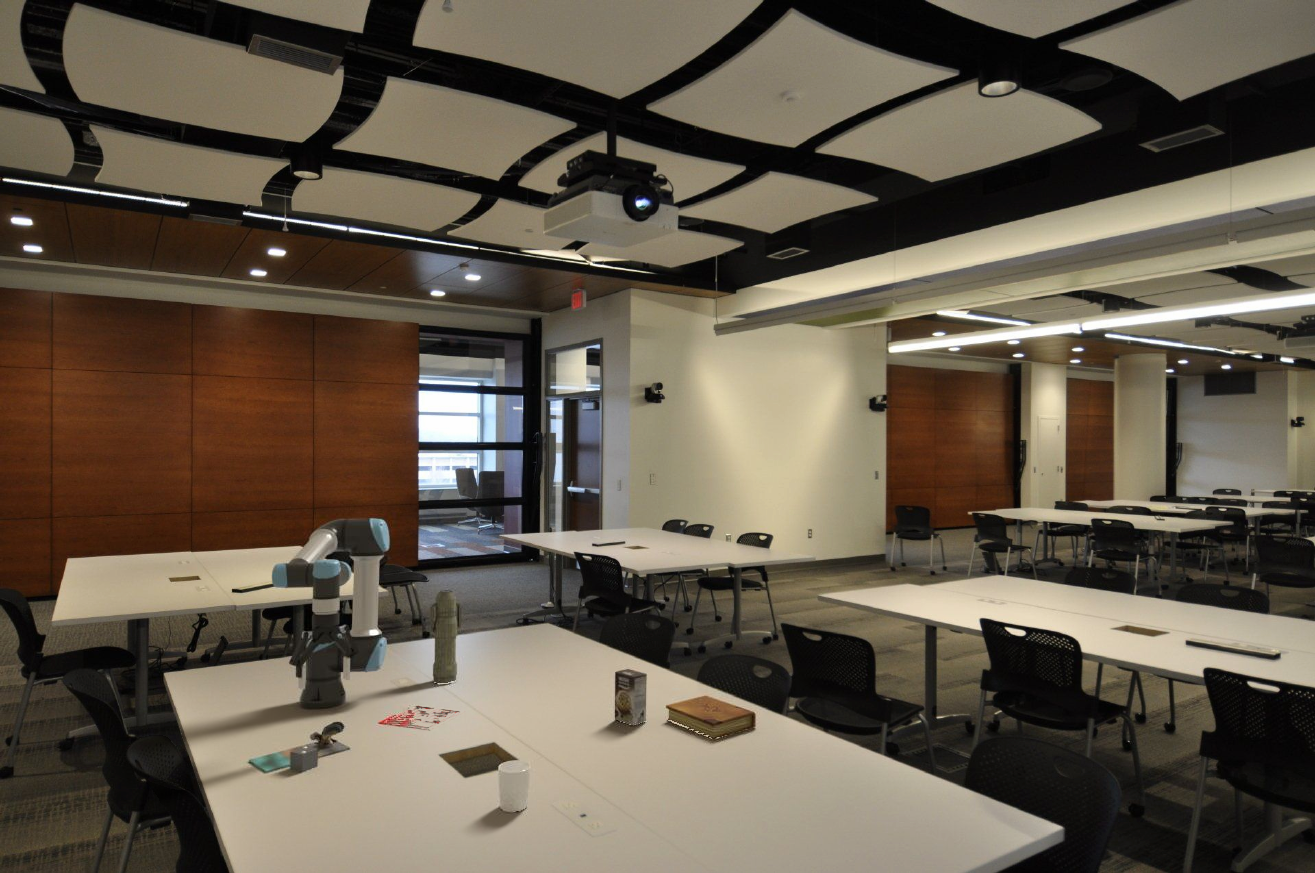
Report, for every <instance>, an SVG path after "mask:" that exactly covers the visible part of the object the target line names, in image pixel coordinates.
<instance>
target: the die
mask: <svg viewBox="0 0 1315 873" xmlns="http://www.w3.org/2000/svg"><path fill="white" fill-rule="evenodd" d="M318 763H319V758H318V749H317V748H313V747H309V746H304V747H301V748H298V749H296V750H293V751H291V752H290V766H289V769H291V771H294V770H295V771H294V772H298V773H302V772H303V773H305V772H308V771H310V770H312V768H313V769H315V768H317V766H318ZM307 770H308V771H307Z"/></svg>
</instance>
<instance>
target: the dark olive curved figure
mask: <svg viewBox="0 0 1315 873" xmlns="http://www.w3.org/2000/svg"><path fill="white" fill-rule="evenodd" d="M344 729H345V724H344V723H343V722H341V721H333V722H332V723H330V724H328V725H326V726H324V728H323V729H322V732H321V733H319V732H318V731H315V732H313V733H310V735H309V739H310V740H311V741H315V742H318V743H314V742H313V743H314V744H318V751H319V750H320V748H322V745H323V743H327V744H330V745H332V746H333V747H334V745H333V742H332V741H331V740H335V741H338V742H339V740H338V739H334V738H333V737H332V736H336V735H338V734H340V733H342V732H343V731H344Z"/></svg>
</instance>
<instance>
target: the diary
mask: <svg viewBox="0 0 1315 873" xmlns="http://www.w3.org/2000/svg"><path fill="white" fill-rule="evenodd" d="M665 709H668V719H669V720H672V721H674V722H677V723H679V724H682V725H684V726H687V727H689V728H688V729H694V730H693V731H699V732H698V733H704V734H703V735H709V736H708V737H711V738H712V739H715V738H717V737H722V736H725V735H729V736H731V735H730V734H732V733H735V734H737V733H736V732H739V731H742V732H744V731H743V730H745V729H749V730H751V729H750V728H752V729H754V728H753V727H756V726H757V725H756V720H757V718H756V717H757V716H756V713H755V711H752V710H749V709H746V708H743V707H740V706H737V705H735V704H732V703H729V702H726V701H723V700H720V699H717V698H714V697H712V696H709V695H701V696H698V697H694V698H690V699H685V700H682V701H678V702H674V703H669V704H667V705H665ZM745 731H746V730H745ZM739 733H740V732H739ZM732 735H733V734H732ZM722 738H723V737H722ZM712 739H711V740H712Z"/></svg>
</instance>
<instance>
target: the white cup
mask: <svg viewBox="0 0 1315 873" xmlns="http://www.w3.org/2000/svg"><path fill="white" fill-rule="evenodd" d="M497 774H498V792H499V793H498V794H499V808H500V809H502V810H503V811H502V810H501V811H502V812H505V811H506V812H505V813H517V812H516V811H519V812H522V811H524V810H526V809H527V808H528V805H529V794H530V784H531V783H530V781H531V780H530V779H531V778H530V777H531V764H530V762H528V761H526V760H525V761H524V760H520V759H518V760H508V761H505V762H502V763H500V764H499V765H498V773H497ZM526 807H527V808H526ZM525 808H526V809H525ZM523 809H524V810H523ZM521 810H522V811H521Z"/></svg>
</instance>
